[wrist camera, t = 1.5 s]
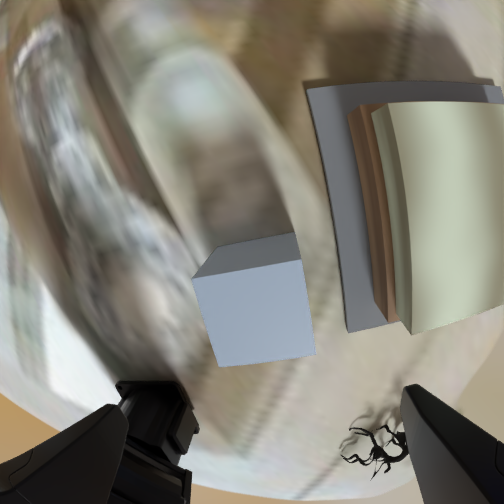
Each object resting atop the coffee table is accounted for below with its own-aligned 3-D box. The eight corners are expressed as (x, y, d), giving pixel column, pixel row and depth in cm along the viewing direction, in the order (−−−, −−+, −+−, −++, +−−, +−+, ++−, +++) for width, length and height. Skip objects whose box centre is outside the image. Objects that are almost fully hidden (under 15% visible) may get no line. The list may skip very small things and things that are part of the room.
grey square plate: (346, 328, 20) (348, 333, 19) (305, 91, 16) (306, 89, 15) (512, 281, 17) (516, 283, 17) (496, 87, 14) (500, 86, 13)
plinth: (374, 301, 18) (402, 345, 13) (346, 115, 16) (374, 93, 10) (503, 266, 17) (546, 291, 11) (491, 110, 14) (539, 101, 9)
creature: (354, 458, 25) (422, 440, 22) (350, 497, 21) (425, 481, 17) (329, 425, 24) (409, 402, 21) (321, 470, 19) (414, 451, 16)
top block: (235, 315, 20) (219, 367, 15) (217, 246, 19) (191, 278, 13) (307, 304, 20) (316, 354, 14) (294, 231, 18) (301, 259, 13)
